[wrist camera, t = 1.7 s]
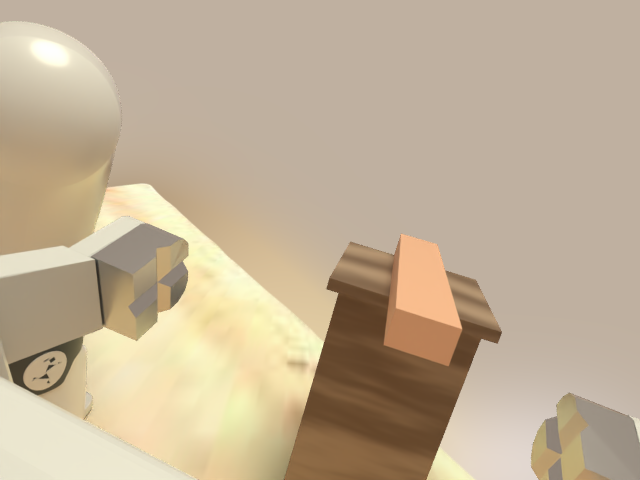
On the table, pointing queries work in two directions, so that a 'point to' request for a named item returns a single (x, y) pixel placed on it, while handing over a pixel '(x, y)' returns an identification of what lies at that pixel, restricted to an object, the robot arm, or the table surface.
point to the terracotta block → (421, 303)
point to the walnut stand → (381, 381)
